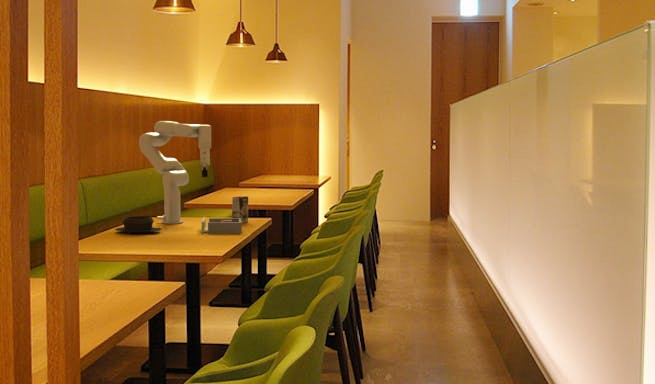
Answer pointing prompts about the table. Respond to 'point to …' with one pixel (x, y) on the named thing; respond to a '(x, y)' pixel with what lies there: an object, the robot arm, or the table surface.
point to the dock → (224, 225)
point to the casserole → (138, 225)
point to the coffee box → (240, 208)
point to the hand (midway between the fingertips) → (204, 176)
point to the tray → (204, 225)
